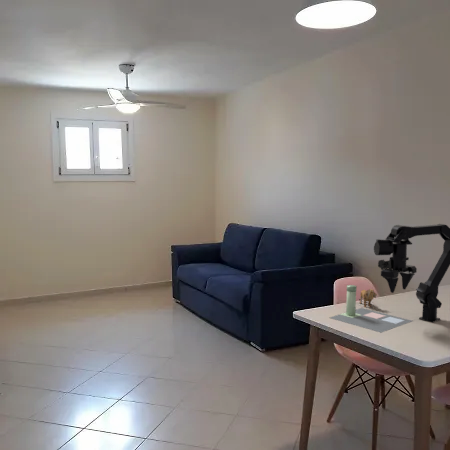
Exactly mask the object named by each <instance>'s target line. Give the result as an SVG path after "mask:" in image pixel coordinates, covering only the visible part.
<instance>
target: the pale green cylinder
mask: <svg viewBox="0 0 450 450" xmlns="http://www.w3.org/2000/svg"><path fill="white" fill-rule="evenodd" d="M356 303H357V285H354V284H349V285H348V284H347V285H346V303H345V304H346V306H345V308H346V309H345V313H346V315H348V316H355V312H356V309H357V308H356V307H357V305H356Z"/></svg>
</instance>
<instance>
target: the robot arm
mask: <svg viewBox="0 0 450 450" xmlns="http://www.w3.org/2000/svg"><path fill="white" fill-rule="evenodd" d="M426 235H427V236H431V235H439V236H440V237H441V239H442V240H443V241H444V243H443V246H442V247H443V250H442V254H441V255H440V257H439V259H438V260H437V263H435V266H434V268H433V270H432V271H431V273H430V274H429V277H428V279H427V280H426V281H425V282H420V283H419V284H418V287H417V288H416V289H415V291H416V292H415V295H416V298H417V299H418V301H419V303H420V304H421V305H422V311H421V313H422V316H420V317H419V318H418V319H419V320H422V321H426V322H429V323H434V322H437V321H440V320H441V317H438V315H437V314H438V309H440V308H441V307H442V302H441V301H440V300H439V299H438V295H439V286H440V284H441V282H442V280H443V278H444V276H445V274H446V273H447V271H448V269H449V268H450V226H448V225H447V224H444V223H438V224H432V225H431V224H429V225H426V224H425V225H416V226H410V225H403V224H402V225H400V224H395V225H393V226H392V228H391V230H390V232H389V233H388V235H387V236H386V238H385V239H381V238H378V239H375V240H376V241H375V243H374V245H373V252H374V255H375V256H390V257H389V258H388V259H389V260H385V259H380V260H378V261H377V262H378V263H377V266H378V268H379V269H380V270H381V271H380V277H382V278H383V279H385V280H386V282H387V284H388V285H387V286H388V287H389V290H390V293H392V294H393V293H394V292H395V291H396V287H397V284H398V281H399V275H400V277H401V284H402V285H401V286H402V289H403V290H406V289H407V288H408V286H409V283H411V280H412V279H413V277H414V276H415V274H416V273H417V270H418V269H417V267H416V266H415V265H411V264H410V265H409V264H407V261H409V257H408V256H407V253H408V245H413V242H412V241H410V239H412V238H415V237H417V236H418V237H419V236H426ZM391 254H392V256H391Z"/></svg>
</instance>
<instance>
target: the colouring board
mask: <svg viewBox="0 0 450 450" xmlns="http://www.w3.org/2000/svg"><path fill="white" fill-rule="evenodd" d="M328 318H329V319H332V320H335V321H338V322H341V323H342V322H343V323H346V324H349V325H351V326H356V327H360V328H363V329H367V330H371V331H374V332H377V333H380V334H381V333H385V332H387V331H390V330H392V329H395V328H397V327H401V326H403V325H406V324H409V323H412V322H413V320H411V319H408V318H404V317H403V318H402V317H399V316H396V315H391V314H387V313H383V312H380V311H379V312H378V311H375V310H371V309H366V308H365V307H361V308H356V312H355V316H348V315H346V312H344V313H340V314H337V315H334V316H330V317H328Z"/></svg>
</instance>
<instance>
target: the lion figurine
mask: <svg viewBox="0 0 450 450" xmlns="http://www.w3.org/2000/svg"><path fill="white" fill-rule="evenodd" d="M377 296H378V294H377V293H376V291H374V289H372V288H369V289H367V290H366V289H362V290H361V292H360V298H358V299H359V304H360V305H362V304H363V308H367V306H368V307H369V308H370V307H372V305H371V304H372V303H371V302H372V300H374V298H375V299H376V298H377ZM367 302H368V303H367Z"/></svg>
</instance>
